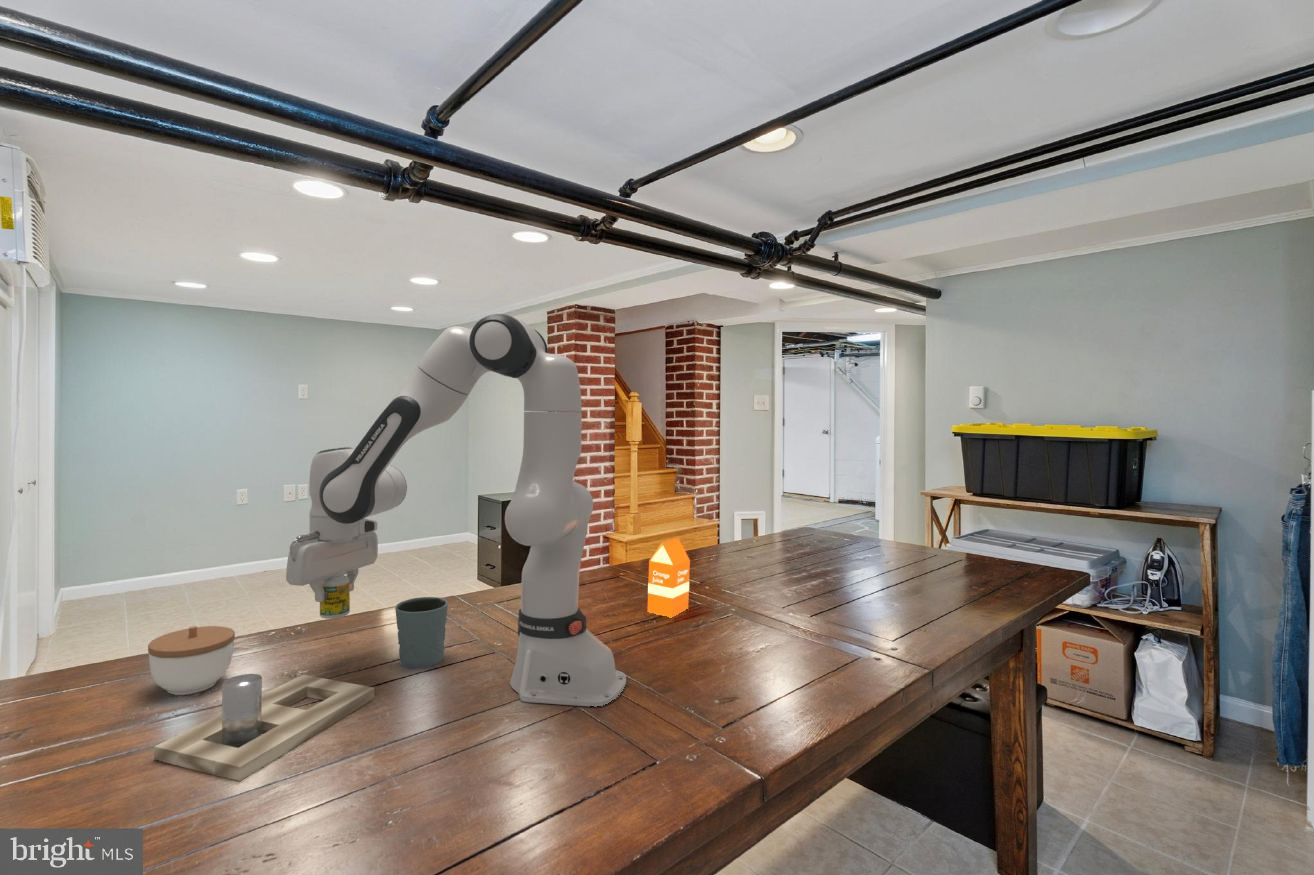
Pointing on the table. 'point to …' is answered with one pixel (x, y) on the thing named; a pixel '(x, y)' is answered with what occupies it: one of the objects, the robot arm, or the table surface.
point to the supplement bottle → (336, 596)
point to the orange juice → (668, 579)
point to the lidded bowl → (191, 658)
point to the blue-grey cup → (421, 631)
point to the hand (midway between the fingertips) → (334, 596)
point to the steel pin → (241, 709)
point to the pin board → (266, 728)
